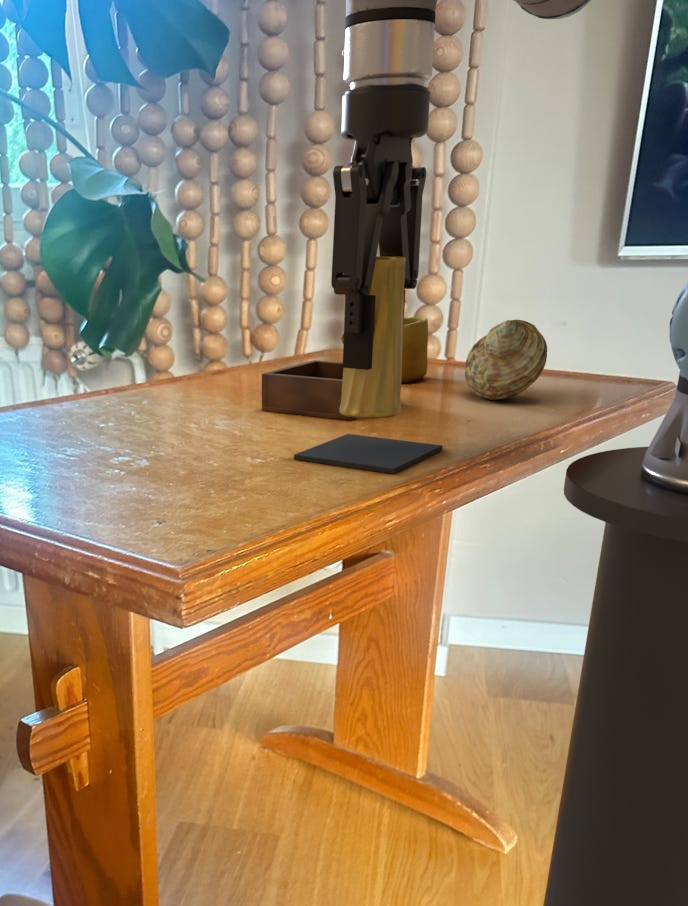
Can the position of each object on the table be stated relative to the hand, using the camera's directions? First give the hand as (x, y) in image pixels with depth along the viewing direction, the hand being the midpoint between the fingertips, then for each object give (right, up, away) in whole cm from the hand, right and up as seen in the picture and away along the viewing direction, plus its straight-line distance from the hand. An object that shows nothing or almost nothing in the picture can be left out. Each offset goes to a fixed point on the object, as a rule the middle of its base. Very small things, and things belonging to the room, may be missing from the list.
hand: (372, 363), depth 89 cm
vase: (0, -5, +2) cm, 5 cm away
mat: (0, -8, +4) cm, 9 cm away
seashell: (+22, +4, +30) cm, 37 cm away
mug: (+10, +11, +45) cm, 47 cm away
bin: (0, +3, +27) cm, 27 cm away
